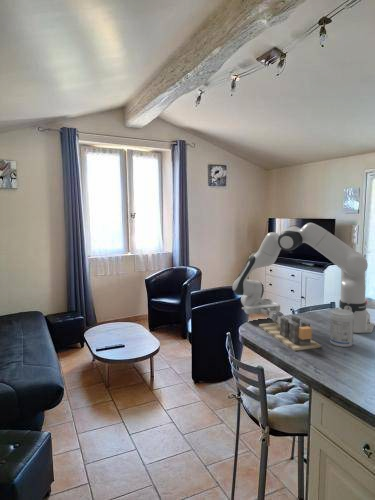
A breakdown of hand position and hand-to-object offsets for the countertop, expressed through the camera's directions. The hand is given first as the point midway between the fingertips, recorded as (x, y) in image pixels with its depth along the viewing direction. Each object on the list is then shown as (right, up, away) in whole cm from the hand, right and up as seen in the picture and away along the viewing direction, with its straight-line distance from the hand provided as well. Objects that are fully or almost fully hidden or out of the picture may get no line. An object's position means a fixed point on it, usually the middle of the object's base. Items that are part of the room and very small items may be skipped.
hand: (268, 312), depth 175 cm
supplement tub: (+26, -9, -28) cm, 39 cm away
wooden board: (+4, -8, -18) cm, 20 cm away
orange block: (+8, -5, -32) cm, 34 cm away
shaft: (+4, -4, -15) cm, 16 cm away
